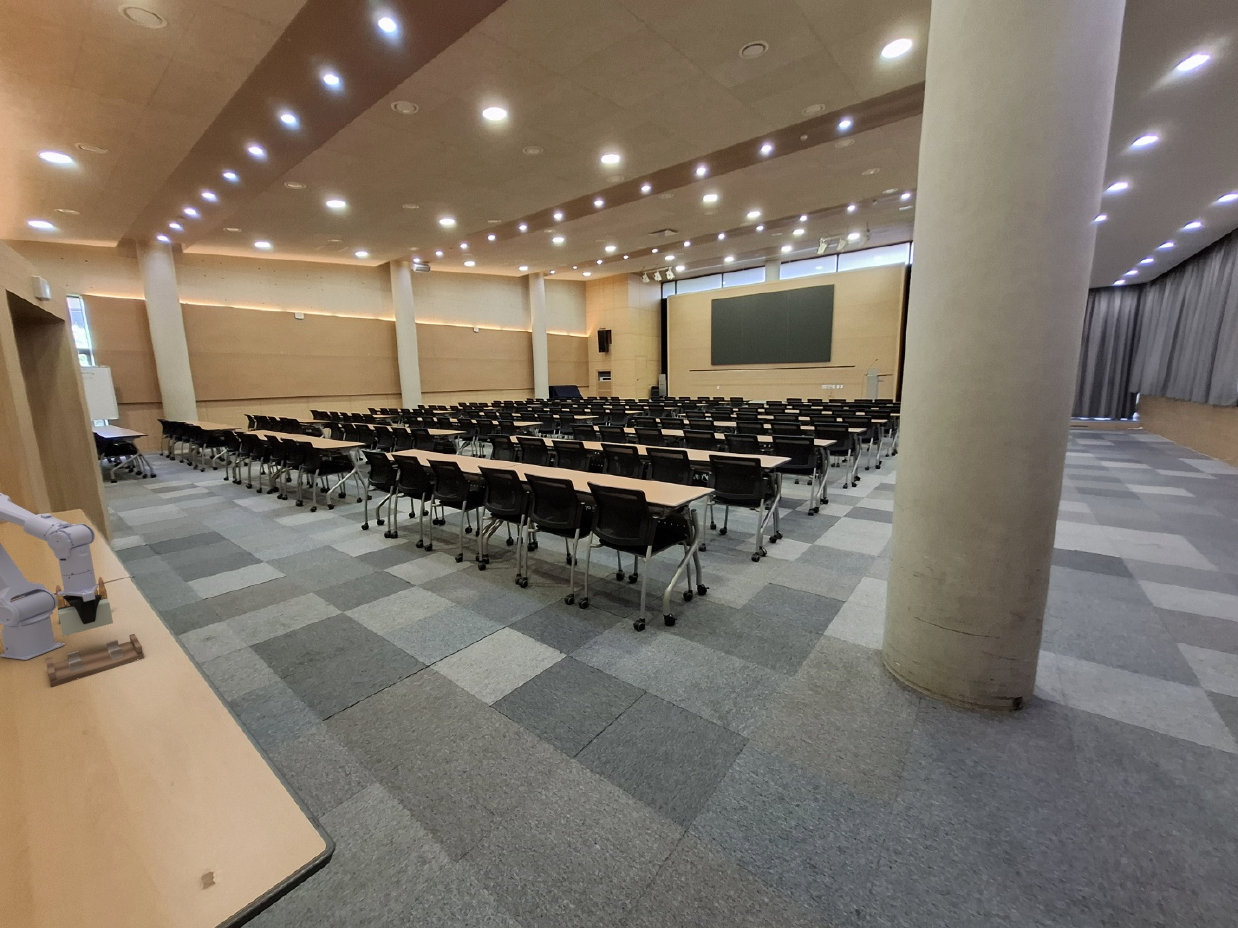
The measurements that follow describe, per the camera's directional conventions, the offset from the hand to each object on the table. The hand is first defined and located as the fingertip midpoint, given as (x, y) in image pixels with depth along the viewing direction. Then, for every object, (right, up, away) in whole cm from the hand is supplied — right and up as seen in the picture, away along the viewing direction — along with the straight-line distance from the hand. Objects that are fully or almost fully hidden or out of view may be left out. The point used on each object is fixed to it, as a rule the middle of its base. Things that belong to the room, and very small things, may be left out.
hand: (86, 620), depth 130 cm
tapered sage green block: (0, -2, 0) cm, 2 cm away
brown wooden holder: (+8, -10, -5) cm, 13 cm away
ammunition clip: (-24, -6, +22) cm, 33 cm away
